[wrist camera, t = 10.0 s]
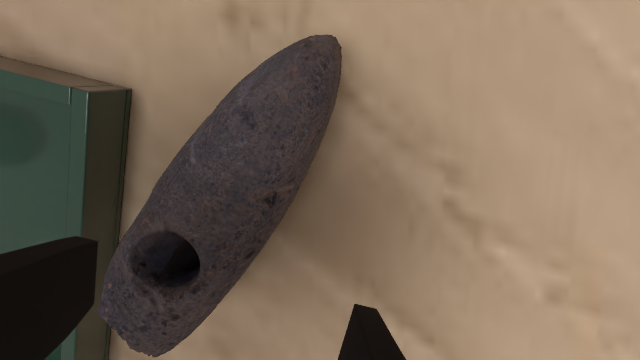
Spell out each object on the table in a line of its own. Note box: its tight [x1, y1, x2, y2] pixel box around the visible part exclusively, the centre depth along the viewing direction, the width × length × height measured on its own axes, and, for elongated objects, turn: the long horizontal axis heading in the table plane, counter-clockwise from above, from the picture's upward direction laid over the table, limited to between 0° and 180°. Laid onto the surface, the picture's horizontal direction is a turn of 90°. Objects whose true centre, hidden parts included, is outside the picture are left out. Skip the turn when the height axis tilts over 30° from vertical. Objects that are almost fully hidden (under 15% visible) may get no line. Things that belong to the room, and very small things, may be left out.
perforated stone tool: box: [98, 35, 342, 357], centre depth 16 cm, size 15×5×7 cm, turn 143°
